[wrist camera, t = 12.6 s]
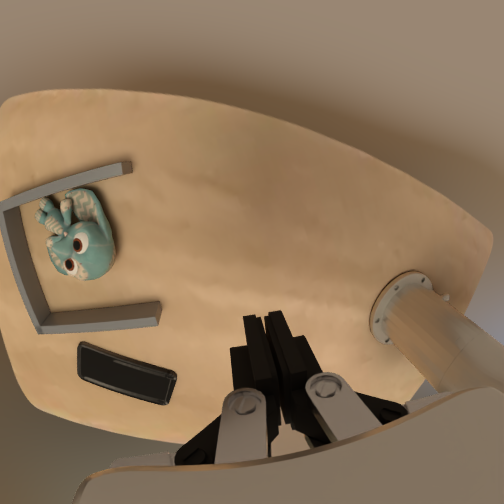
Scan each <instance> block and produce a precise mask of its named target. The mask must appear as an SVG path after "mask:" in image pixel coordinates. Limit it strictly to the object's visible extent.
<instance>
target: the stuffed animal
mask: <svg viewBox="0 0 504 504" xmlns="http://www.w3.org/2000/svg"><path fill="white" fill-rule="evenodd" d="M65 198H66V199H64V200H62V201H61V202H60V209H61V210H59V209H57V208H55V207H54V205H53V202H52V201H51V200H50V199H49V198H48V197H46V196H45V197H43V198H42V199H41V201H40V203H39V206H40V209H39V210H37V212H36V214H35V219H36V220H37V221H38V222H39V223H41V224H43V225H45V228H46V229H47V230H48V231H50V232H53V233H55V234H58V235H59V236H50V237H48V238H47V239H46V245H47V249H48V252H49V256H50V259H51V261H52V263H53V264H54V266H55V268H56V269H57V271H58V272H60V273H62V274H64V275H70V276H72V277H76V278H77V279H79V280H81V281H86V280H93V279H97V278H99V277H101V276H103V275H104V274H105V273H107V272H108V271H109V270H110V269H111V268H112V266H113V264H114V262H115V255H116V250H115V245H114V241H113V238H112V230H111V227H110V224H109V222H108V220H107V218H106V216H105V214H104V212H103V209H102V206H101V203H100V202H99V200H98V199H97V198H96V196H95V194H94V193H93V191H90V190H86V189H82V188H79V189H76V190H72V191H69V192H68V193H66V194H65ZM72 211H73V213H74V215H75V216H76V217H77V218H78V219H79V221H80V222H78V223H75V224H73V225H72V226H71V212H72ZM46 212H47V213H48V215H47V213H46Z"/></svg>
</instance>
